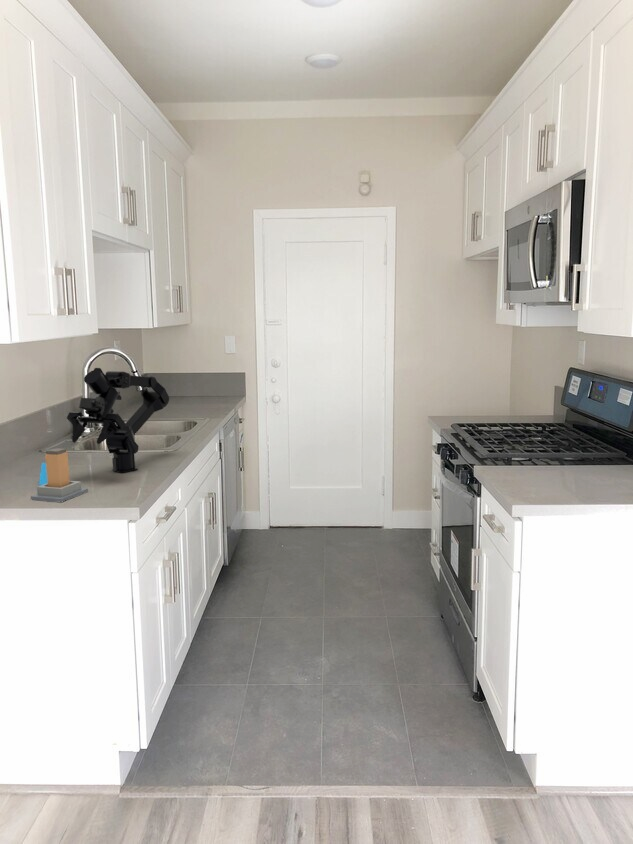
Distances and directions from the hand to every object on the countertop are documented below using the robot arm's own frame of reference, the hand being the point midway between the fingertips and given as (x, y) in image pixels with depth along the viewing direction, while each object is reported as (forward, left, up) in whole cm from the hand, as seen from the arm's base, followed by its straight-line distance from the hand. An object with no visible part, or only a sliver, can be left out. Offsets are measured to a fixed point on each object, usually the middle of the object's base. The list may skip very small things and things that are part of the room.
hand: (85, 442), depth 215 cm
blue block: (+7, -10, -14) cm, 19 cm away
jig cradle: (+12, +6, -13) cm, 19 cm away
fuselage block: (+12, +6, -12) cm, 19 cm away
